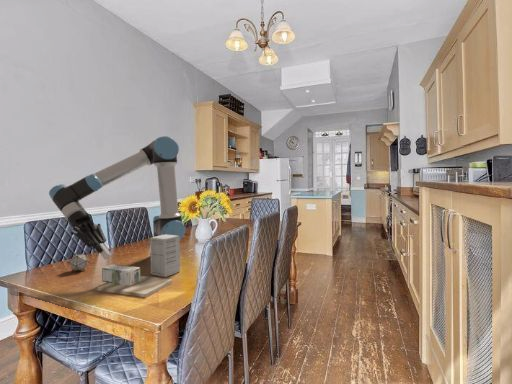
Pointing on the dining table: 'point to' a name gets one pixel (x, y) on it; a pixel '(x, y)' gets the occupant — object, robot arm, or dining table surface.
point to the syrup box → (121, 274)
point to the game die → (78, 262)
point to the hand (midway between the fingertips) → (108, 257)
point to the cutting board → (137, 287)
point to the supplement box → (165, 255)
